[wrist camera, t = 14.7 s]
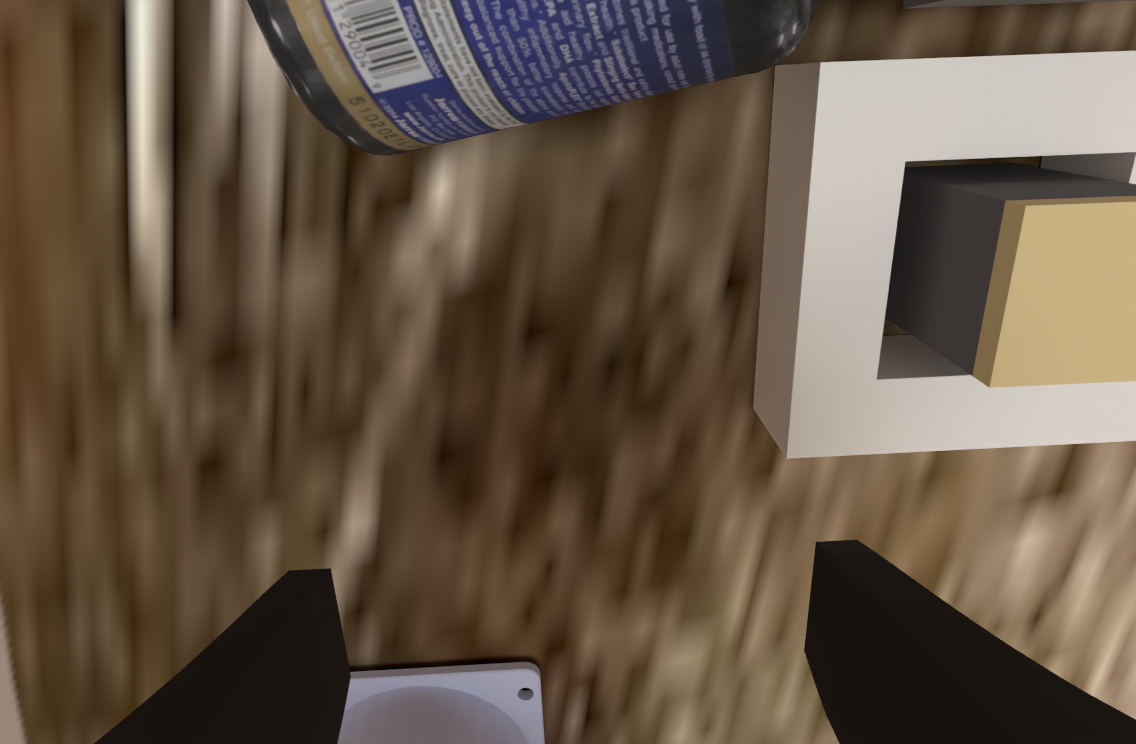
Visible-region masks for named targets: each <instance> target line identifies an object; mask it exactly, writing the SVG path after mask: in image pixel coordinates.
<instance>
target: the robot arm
mask: <svg viewBox="0 0 1136 744" xmlns="http://www.w3.org/2000/svg"><path fill="white" fill-rule="evenodd" d="M804 651H805V654H806V657H807V660H808V663H809V666H810V669H811V672H812V675H813V678H814V682H815V685H816V687H817V690H818V693H819V696H820V699H821V702H822V704H823V707H824V710H825V713H826V716H827V718H828V720H829V722H830V724H831V726H832V728H833V731H834V733H835V735H836V737H837V739H838V741H839V743H840V744H1136V720H1135V719H1133V718H1131V717H1130V716H1128V715H1126V714H1124V713H1122V712H1120V711H1119V710H1117V709H1115V708H1113V707H1111V706H1109V705H1108V704H1106V703H1104V702H1102V701H1100V700H1099V699H1097V698H1095V697H1093V696H1091V695H1089V694H1088V693H1086V692H1084V691H1083V690H1081V689H1079V688H1077V687H1076V686H1074V685H1072V684H1071V683H1069V682H1067V681H1066V680H1064V679H1062V678H1060V677H1059V676H1057V675H1056V674H1054V673H1052V672H1051V671H1049V670H1048V669H1046V668H1044V667H1043V666H1041V665H1040V664H1038V663H1036V662H1035V661H1033V660H1032V659H1030V658H1028V657H1027V656H1025V655H1024V654H1022V653H1020V652H1019V651H1017V650H1016V649H1014V648H1012V647H1011V646H1009V645H1008V644H1006V643H1005V642H1003V641H1002V640H1000V639H999V638H997V637H996V636H994V635H993V634H991V633H990V632H988V631H987V630H985V629H984V628H982V627H981V626H979V625H978V624H976V623H975V622H973V621H972V620H970V619H969V618H968V617H966V616H965V615H963V614H962V613H960V612H959V611H957V610H956V609H955V608H953V607H952V606H950V605H949V604H947V603H946V602H945V601H943V600H942V599H940V598H939V597H937V596H936V595H935V594H933V593H932V592H930V591H929V590H928V589H926V588H925V587H923V586H922V585H921V584H919V583H918V582H916V581H915V580H914V579H912V578H911V577H909V576H908V575H907V574H905V573H904V572H903V571H901V570H900V569H898V568H897V567H896V566H894V565H893V564H891V563H890V562H889V561H887V560H886V559H884V558H883V557H881V556H880V555H879V554H877V553H876V552H874V551H873V550H871V549H870V548H868V547H867V546H865V545H864V544H862V543H861V542H859V541H858V540H843V541H825V542H816V547H815V556H814V565H813V574H812V584H811V593H810V602H809V611H808V621H807V630H806V639H805V648H804ZM522 688H530V689H531V690H528V691H523V690H521V689H522ZM94 744H545V739H544V724H543V708H542V692H541V676H540V671H539V668H538V667H537V666H536V665H535V664H532V663H530V662H514V663H497V664H480V665H462V666H445V667H428V668H411V669H394V670H376V671H359V672H350V669H349V664H348V659H347V653H346V648H345V643H344V637H343V632H342V627H341V621H340V616H339V611H338V605H337V600H336V595H335V589H334V584H333V579H332V574H331V568H330V569H311V570H293V571H288V572H287V573H286V574H285V575H284V576H282V577H281V578H280V579H279V580H278V581H277V582H276V583H275V584H274V585H272V586H271V587H270V588H269V589H268V590H267V591H266V592H265V593H264V594H263V595H262V596H261V597H260V598H259V599H258V600H257V601H256V602H254V603H253V604H252V605H251V606H250V607H249V608H248V609H247V610H246V611H245V612H244V613H243V614H242V615H241V616H240V617H239V618H238V619H237V620H236V621H234V622H233V623H232V624H231V625H230V626H229V627H228V628H227V629H226V630H225V631H224V632H223V633H222V634H221V635H219V636H218V637H217V638H216V639H215V640H214V641H213V642H212V643H211V644H210V645H209V646H208V647H206V648H205V649H204V650H203V651H202V652H201V653H200V654H199V655H198V656H197V657H196V658H195V659H193V660H192V661H191V662H190V663H189V664H188V665H187V666H186V667H185V668H184V669H183V670H181V671H180V672H179V673H178V674H177V675H176V676H174V677H173V678H172V679H171V680H170V681H168V682H167V683H166V684H165V685H164V686H163V687H161V688H160V689H159V690H158V691H157V692H156V693H154V694H153V695H152V696H151V697H150V698H149V699H147V700H146V701H145V702H144V703H143V704H141V705H140V706H139V707H138V708H137V709H136V710H134V711H133V712H132V713H131V714H130V715H129V716H127V717H126V718H125V719H124V720H123V721H121V722H120V723H119V724H118V725H117V726H115V727H114V728H113V729H112V730H110V731H109V732H108V733H107V734H105V735H104V736H103V737H102V738H100V739H99V740H98V741H97V742H95V743H94Z"/></svg>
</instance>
